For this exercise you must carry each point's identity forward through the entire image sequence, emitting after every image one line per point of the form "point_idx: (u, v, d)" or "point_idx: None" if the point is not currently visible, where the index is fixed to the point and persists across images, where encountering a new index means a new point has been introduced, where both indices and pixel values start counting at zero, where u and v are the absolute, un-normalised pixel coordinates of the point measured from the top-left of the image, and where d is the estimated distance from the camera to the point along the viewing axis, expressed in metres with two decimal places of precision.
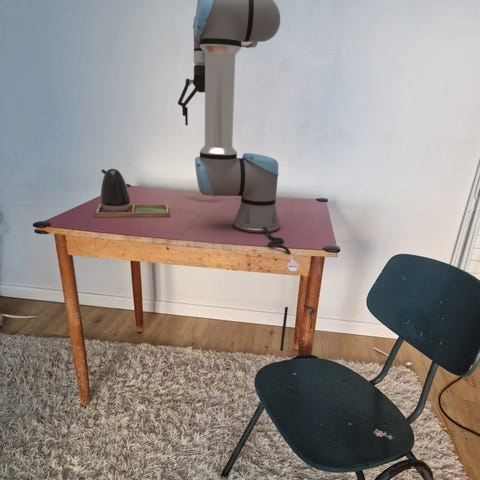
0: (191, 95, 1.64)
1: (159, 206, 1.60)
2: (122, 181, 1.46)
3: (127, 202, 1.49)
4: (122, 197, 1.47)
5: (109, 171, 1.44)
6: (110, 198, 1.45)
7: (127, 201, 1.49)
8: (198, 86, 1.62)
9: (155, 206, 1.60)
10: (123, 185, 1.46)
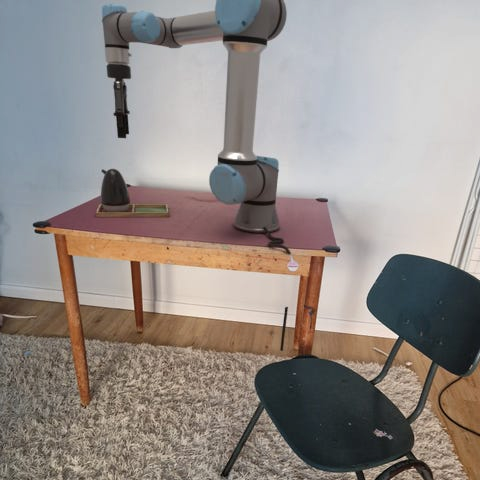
0: None
1: (159, 206, 1.60)
2: (122, 181, 1.46)
3: (127, 202, 1.49)
4: (122, 197, 1.47)
5: (109, 171, 1.44)
6: (110, 198, 1.45)
7: (127, 201, 1.49)
8: None
9: (155, 206, 1.60)
10: (123, 185, 1.46)
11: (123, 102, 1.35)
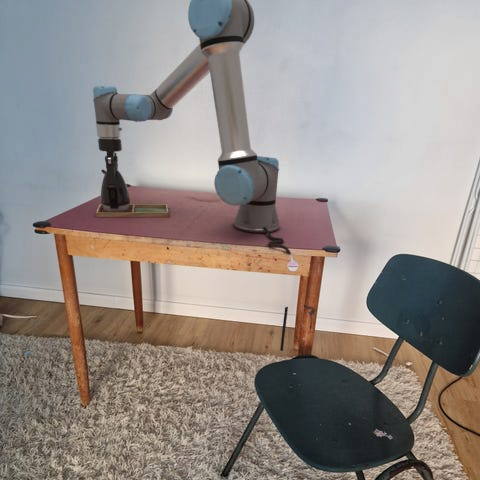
0: None
1: (159, 206, 1.60)
2: (122, 181, 1.46)
3: (127, 202, 1.49)
4: (122, 197, 1.47)
5: None
6: None
7: (127, 201, 1.49)
8: None
9: (155, 206, 1.60)
10: (123, 185, 1.46)
11: (115, 175, 1.42)
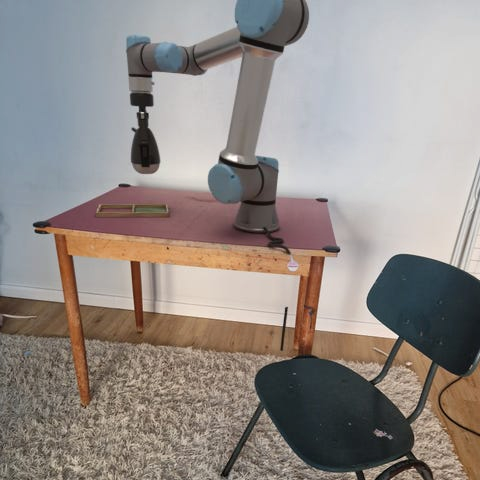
0: None
1: (159, 206, 1.60)
2: (153, 138, 1.42)
3: (158, 161, 1.44)
4: (154, 155, 1.42)
5: None
6: None
7: (158, 161, 1.44)
8: None
9: (155, 206, 1.60)
10: (154, 143, 1.42)
11: None
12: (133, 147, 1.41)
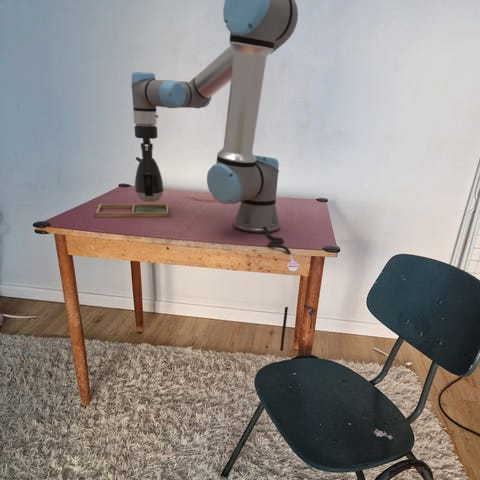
0: None
1: (159, 206, 1.60)
2: (157, 168, 1.46)
3: (161, 190, 1.49)
4: (157, 184, 1.47)
5: None
6: None
7: (161, 189, 1.49)
8: None
9: (155, 206, 1.60)
10: (158, 172, 1.47)
11: None
12: (137, 176, 1.46)
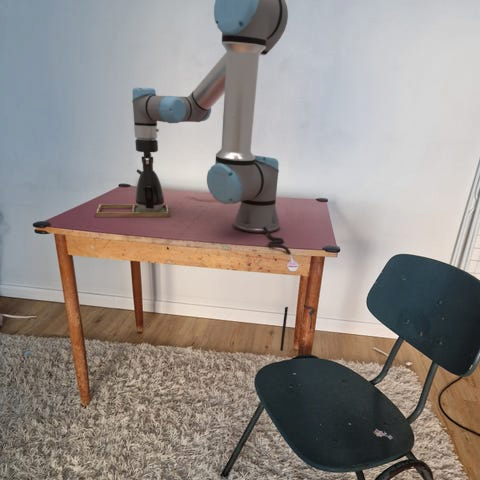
0: None
1: None
2: (158, 180, 1.48)
3: (162, 201, 1.51)
4: (158, 197, 1.49)
5: None
6: None
7: (162, 201, 1.51)
8: None
9: None
10: (158, 185, 1.49)
11: None
12: (138, 189, 1.48)
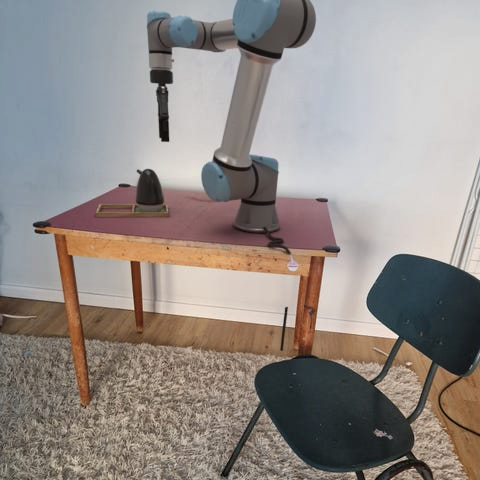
0: (158, 105, 1.46)
1: None
2: (158, 180, 1.49)
3: (162, 201, 1.51)
4: (158, 197, 1.49)
5: (145, 171, 1.46)
6: (146, 198, 1.48)
7: (162, 201, 1.51)
8: (156, 94, 1.42)
9: None
10: (158, 185, 1.49)
11: None
12: (138, 189, 1.48)
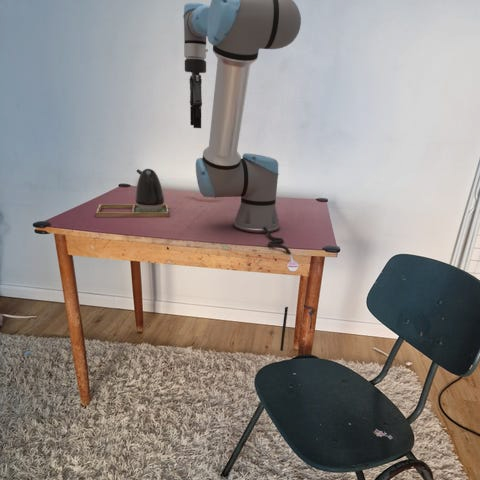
0: (191, 93, 1.54)
1: None
2: (158, 180, 1.49)
3: (162, 201, 1.51)
4: (158, 197, 1.49)
5: (145, 171, 1.46)
6: (146, 198, 1.48)
7: (162, 201, 1.51)
8: (190, 83, 1.50)
9: None
10: (158, 185, 1.49)
11: None
12: (138, 189, 1.48)
